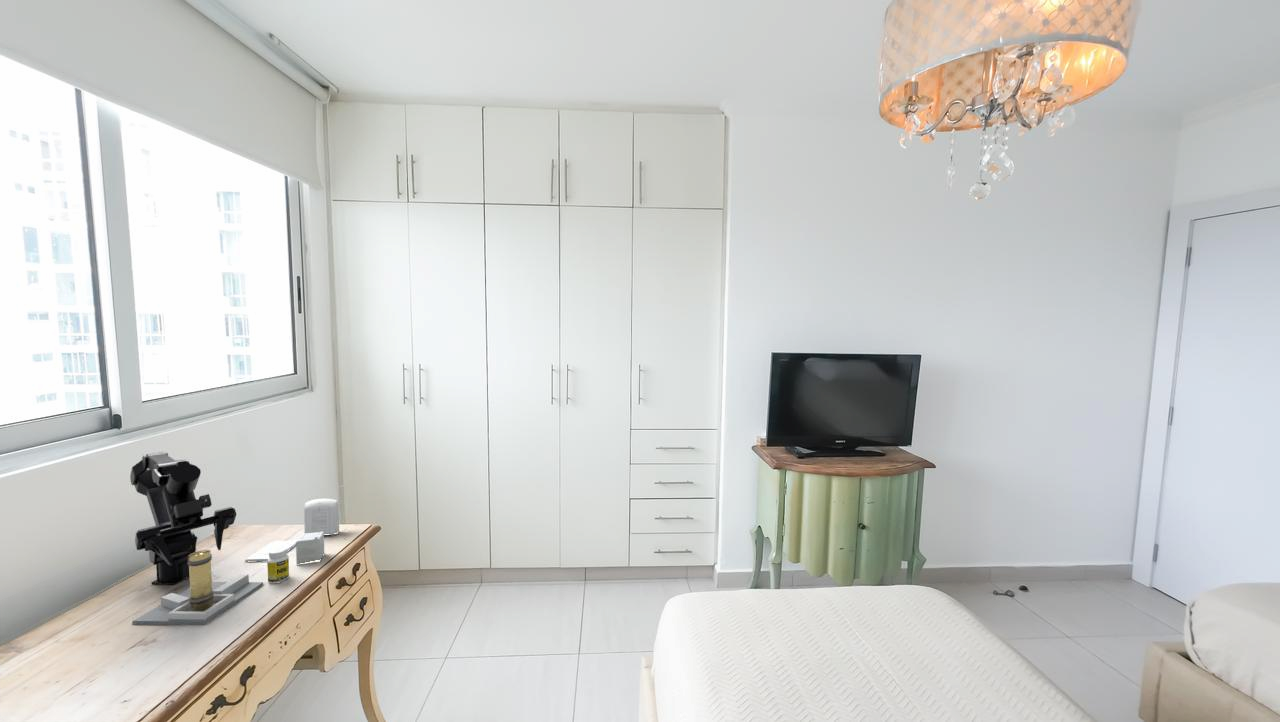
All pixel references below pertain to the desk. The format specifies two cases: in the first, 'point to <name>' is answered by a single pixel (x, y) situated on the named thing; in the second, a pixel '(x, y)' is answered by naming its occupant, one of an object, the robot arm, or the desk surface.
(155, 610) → the coupling station
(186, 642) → the desk surface
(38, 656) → the desk surface
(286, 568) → the supplement bottle
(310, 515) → the photo printer
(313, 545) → the skincare box
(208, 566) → the disc
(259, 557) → the external hard drive
